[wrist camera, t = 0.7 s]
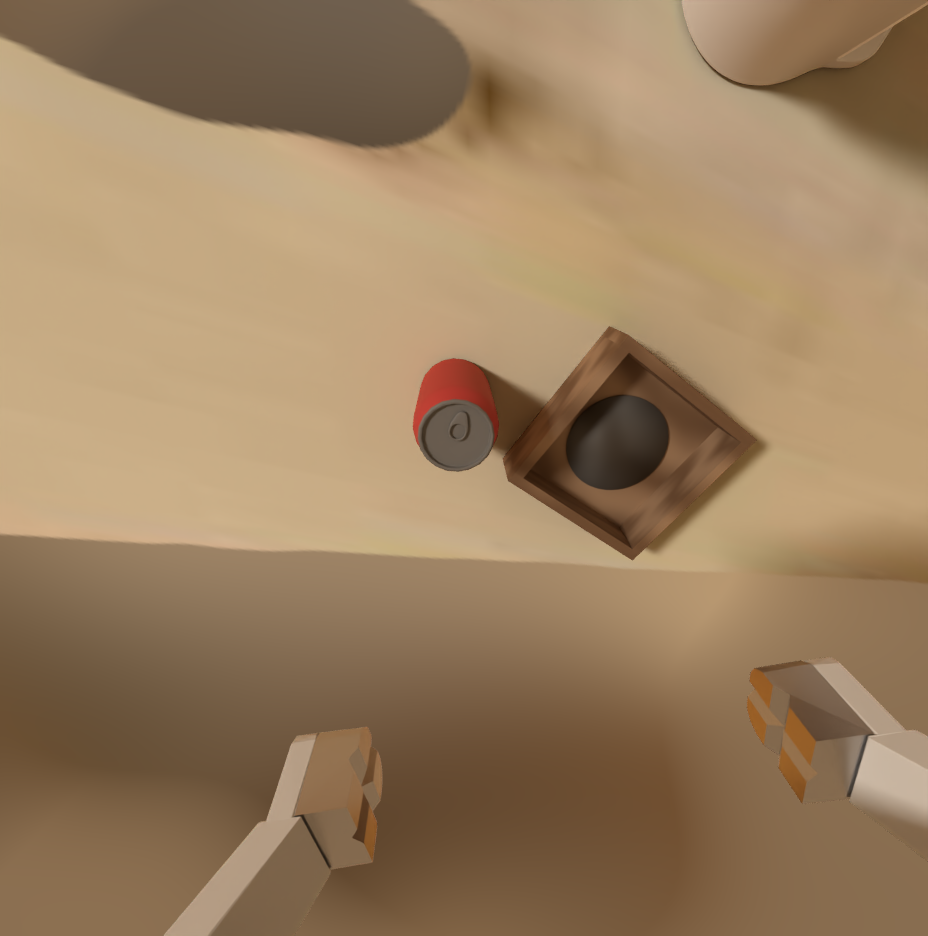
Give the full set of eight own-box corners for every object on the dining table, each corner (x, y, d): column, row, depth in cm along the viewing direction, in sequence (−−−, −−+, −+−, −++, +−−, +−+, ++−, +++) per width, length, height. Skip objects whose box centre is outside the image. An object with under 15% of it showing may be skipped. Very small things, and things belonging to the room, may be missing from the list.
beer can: (498, 367, 43) (513, 406, 32) (478, 431, 46) (486, 486, 35) (429, 348, 42) (422, 381, 31) (413, 414, 45) (401, 466, 34)
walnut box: (609, 326, 41) (628, 335, 37) (726, 421, 46) (756, 440, 41) (502, 458, 47) (508, 480, 42) (616, 533, 51) (632, 560, 47)
